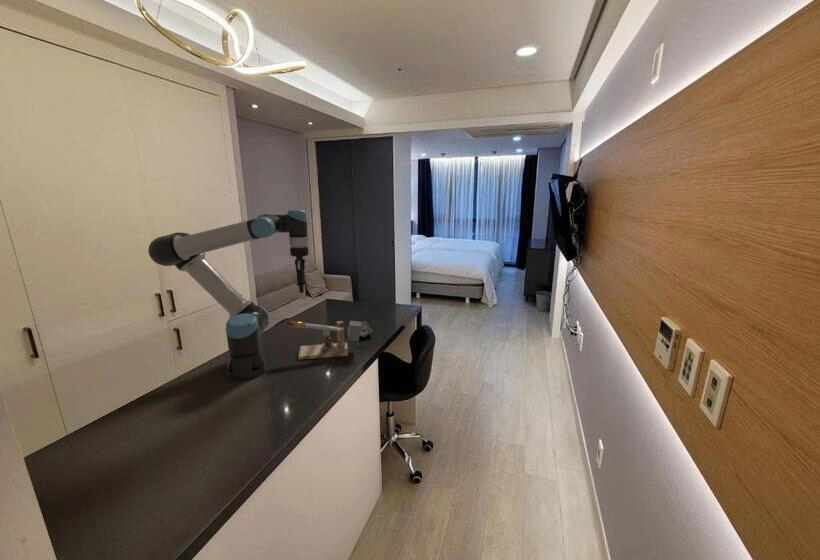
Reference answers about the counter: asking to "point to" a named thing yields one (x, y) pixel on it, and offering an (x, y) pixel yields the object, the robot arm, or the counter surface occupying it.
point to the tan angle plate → (326, 347)
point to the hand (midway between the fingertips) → (302, 298)
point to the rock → (364, 329)
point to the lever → (332, 328)
